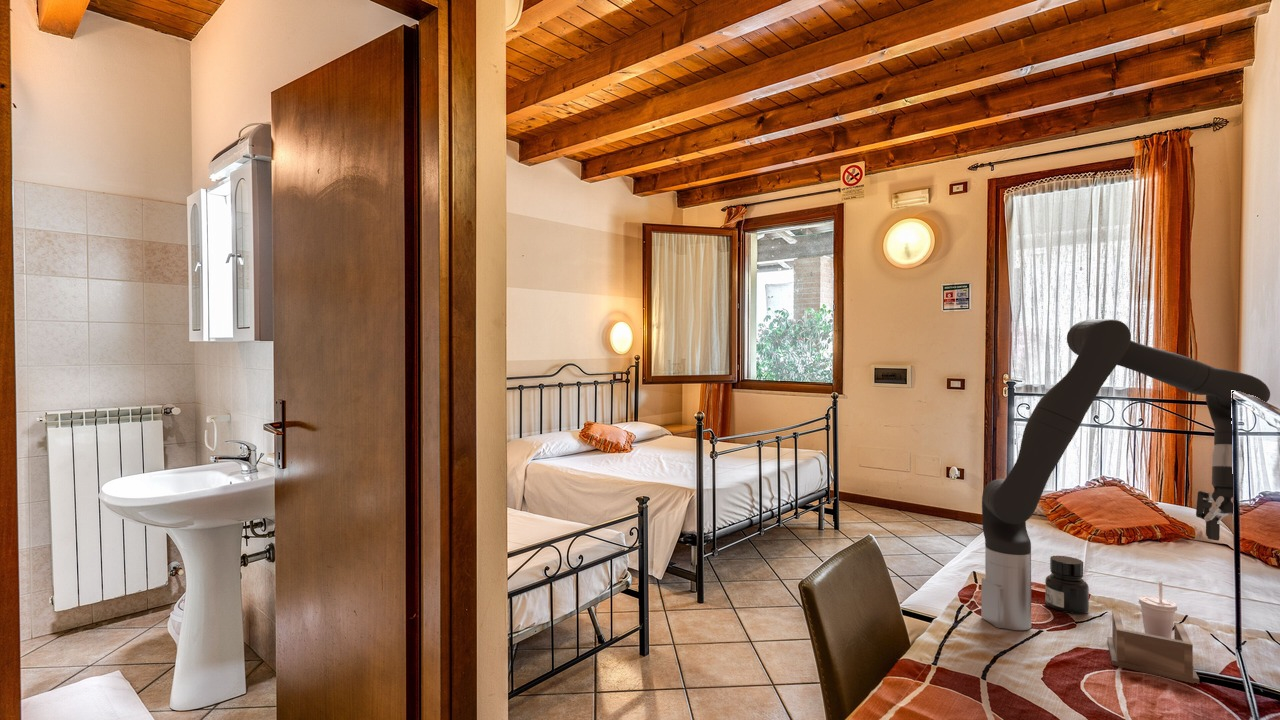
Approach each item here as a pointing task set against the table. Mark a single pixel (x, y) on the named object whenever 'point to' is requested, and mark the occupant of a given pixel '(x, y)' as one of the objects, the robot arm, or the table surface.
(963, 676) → the table surface
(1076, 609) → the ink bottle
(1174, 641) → the bottle stand
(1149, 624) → the smoothie
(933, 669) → the table surface
